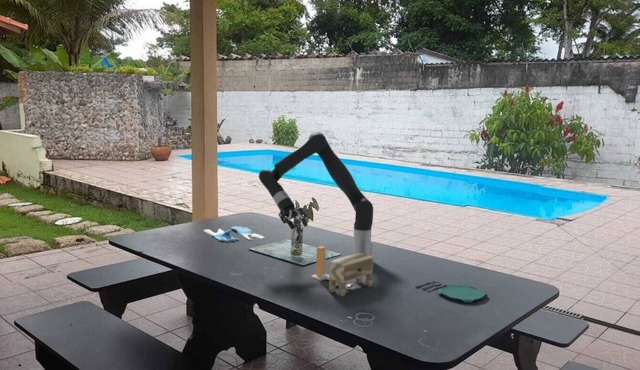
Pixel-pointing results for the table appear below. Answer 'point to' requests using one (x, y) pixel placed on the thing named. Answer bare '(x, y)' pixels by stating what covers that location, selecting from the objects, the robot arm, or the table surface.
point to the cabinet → (350, 271)
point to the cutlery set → (458, 292)
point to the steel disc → (350, 286)
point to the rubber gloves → (227, 237)
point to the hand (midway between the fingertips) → (300, 227)
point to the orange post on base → (321, 265)
